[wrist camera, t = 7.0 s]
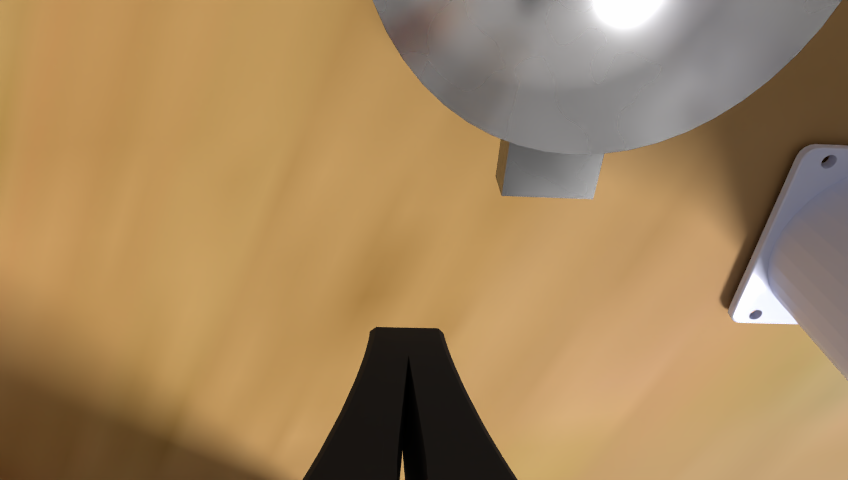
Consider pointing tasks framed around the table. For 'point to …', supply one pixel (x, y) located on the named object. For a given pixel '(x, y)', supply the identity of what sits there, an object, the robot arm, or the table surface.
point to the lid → (597, 63)
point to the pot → (546, 173)
